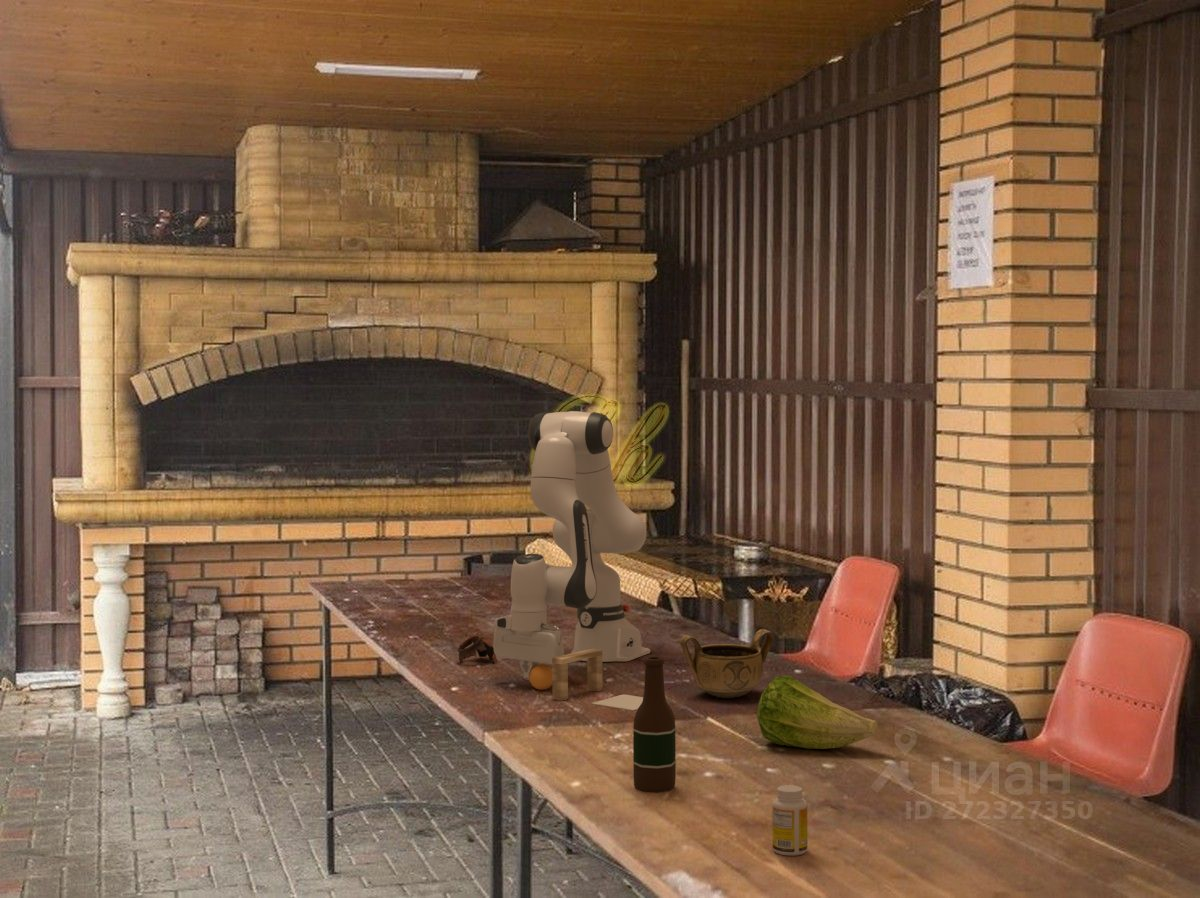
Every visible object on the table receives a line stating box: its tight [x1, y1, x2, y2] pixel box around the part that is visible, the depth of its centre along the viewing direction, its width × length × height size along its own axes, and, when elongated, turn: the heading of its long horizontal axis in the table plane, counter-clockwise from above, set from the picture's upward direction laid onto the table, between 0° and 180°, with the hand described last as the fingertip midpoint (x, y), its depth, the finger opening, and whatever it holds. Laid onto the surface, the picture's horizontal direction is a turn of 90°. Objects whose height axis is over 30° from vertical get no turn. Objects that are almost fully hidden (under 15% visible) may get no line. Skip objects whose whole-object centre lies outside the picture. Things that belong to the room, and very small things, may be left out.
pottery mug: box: [457, 634, 498, 664], centre depth 415 cm, size 12×10×8 cm
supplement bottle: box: [771, 784, 809, 857], centre depth 251 cm, size 6×6×10 cm
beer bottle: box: [632, 656, 677, 793], centre depth 290 cm, size 8×8×24 cm
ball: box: [529, 664, 552, 691], centre depth 379 cm, size 6×6×6 cm
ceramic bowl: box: [679, 628, 774, 699], centre depth 370 cm, size 22×17×15 cm
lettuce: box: [756, 675, 878, 750], centre depth 319 cm, size 14×24×15 cm
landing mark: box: [591, 694, 643, 712], centre depth 363 cm, size 12×12×1 cm
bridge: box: [551, 649, 604, 702], centre depth 372 cm, size 3×15×10 cm, turn 142°
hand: (528, 679), depth 381 cm, fingers closed
